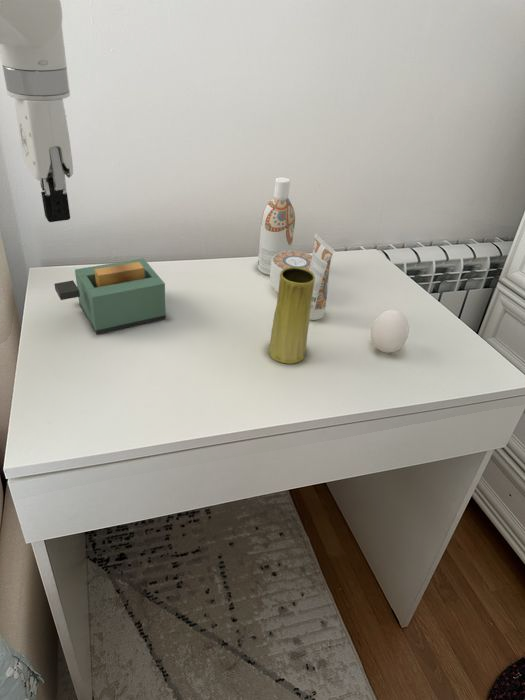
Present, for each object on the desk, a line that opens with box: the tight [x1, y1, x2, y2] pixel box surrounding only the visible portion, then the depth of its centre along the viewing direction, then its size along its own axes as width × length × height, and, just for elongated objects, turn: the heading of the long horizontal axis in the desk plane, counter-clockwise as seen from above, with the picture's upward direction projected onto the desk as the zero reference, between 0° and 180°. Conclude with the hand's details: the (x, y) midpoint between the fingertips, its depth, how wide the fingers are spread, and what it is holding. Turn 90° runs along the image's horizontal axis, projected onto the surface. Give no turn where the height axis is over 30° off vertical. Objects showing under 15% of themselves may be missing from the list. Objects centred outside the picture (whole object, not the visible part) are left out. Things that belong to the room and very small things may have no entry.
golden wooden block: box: [94, 262, 145, 288], centre depth 90 cm, size 8×2×8 cm, turn 120°
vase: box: [267, 267, 315, 365], centre depth 83 cm, size 6×6×14 cm
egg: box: [370, 309, 410, 353], centre depth 88 cm, size 6×6×8 cm
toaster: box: [74, 257, 167, 335], centre depth 91 cm, size 12×10×7 cm
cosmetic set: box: [257, 176, 334, 321], centre depth 98 cm, size 25×9×19 cm, turn 22°
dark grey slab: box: [53, 280, 80, 301], centre depth 85 cm, size 3×4×1 cm
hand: (58, 218), depth 78 cm, fingers closed
